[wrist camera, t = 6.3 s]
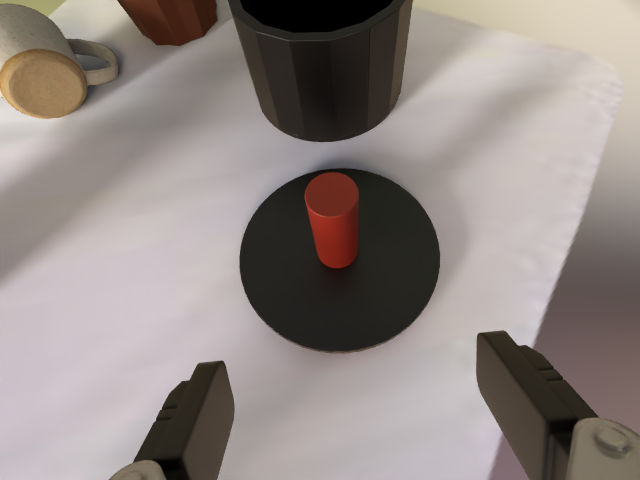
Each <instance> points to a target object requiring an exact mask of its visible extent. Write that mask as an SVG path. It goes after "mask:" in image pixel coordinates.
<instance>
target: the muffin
mask: <svg viewBox="0 0 640 480" xmlns="http://www.w3.org/2000/svg"><path fill="white" fill-rule="evenodd" d="M117 1H118V2H119V3H120V5H121V6H122V7H123V9H124V10H125V11H126V13H127V14H128V15H129V17H130V18H131V19H132V21H133V22H134V23H135V25H136V26H137V27H138V29H139V30H140V31H141V33H142V34H143V35H144V36H146V37H148V38H149V39H151V40H152V41H153V42H154V43H155V44H156V45H176V46H181V45H183V44H185V43H187V42H189V41H191V40H194V39H197V38H200V37H203V36H204V35H205V34H206V33H207V31H208V30H209V29H210V28H211V27H212V26H213V25H214V24H215V23H216V22H217V16H216V7H217V5H216V0H117Z"/></svg>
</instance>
